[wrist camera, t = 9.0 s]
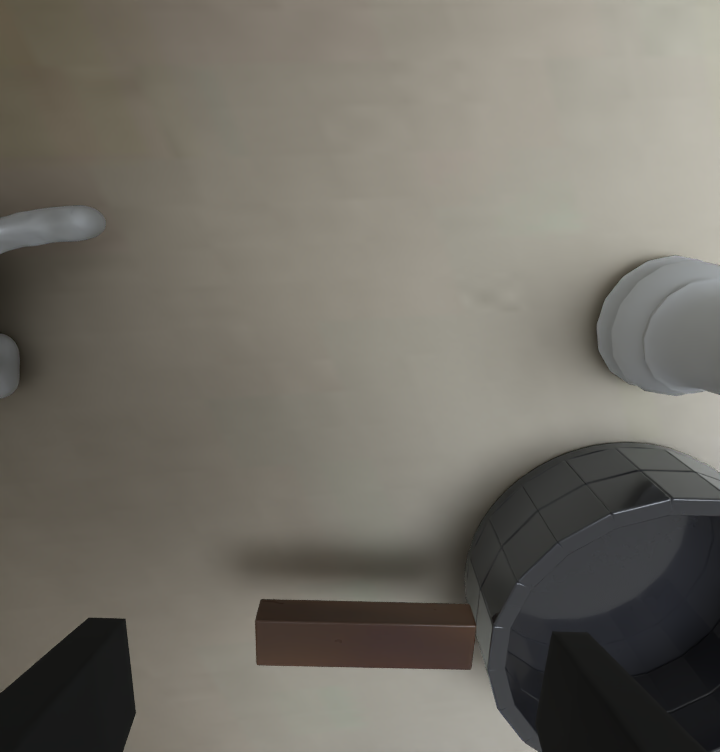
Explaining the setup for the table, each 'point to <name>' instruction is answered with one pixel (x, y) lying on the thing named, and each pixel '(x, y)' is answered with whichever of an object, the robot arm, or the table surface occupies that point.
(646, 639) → the pan
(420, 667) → the pan handle
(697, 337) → the rook chess piece
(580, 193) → the table surface
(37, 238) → the gray elephant figurine
